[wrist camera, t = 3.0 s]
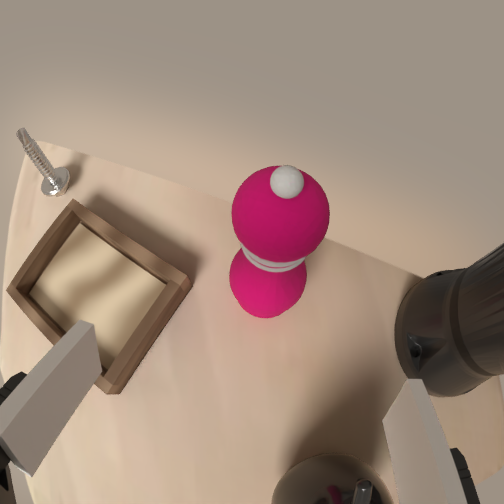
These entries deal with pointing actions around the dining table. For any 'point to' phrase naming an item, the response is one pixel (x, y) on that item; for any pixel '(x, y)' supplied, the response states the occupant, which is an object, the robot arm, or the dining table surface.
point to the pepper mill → (275, 237)
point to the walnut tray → (99, 290)
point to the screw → (45, 167)
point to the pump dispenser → (331, 482)
